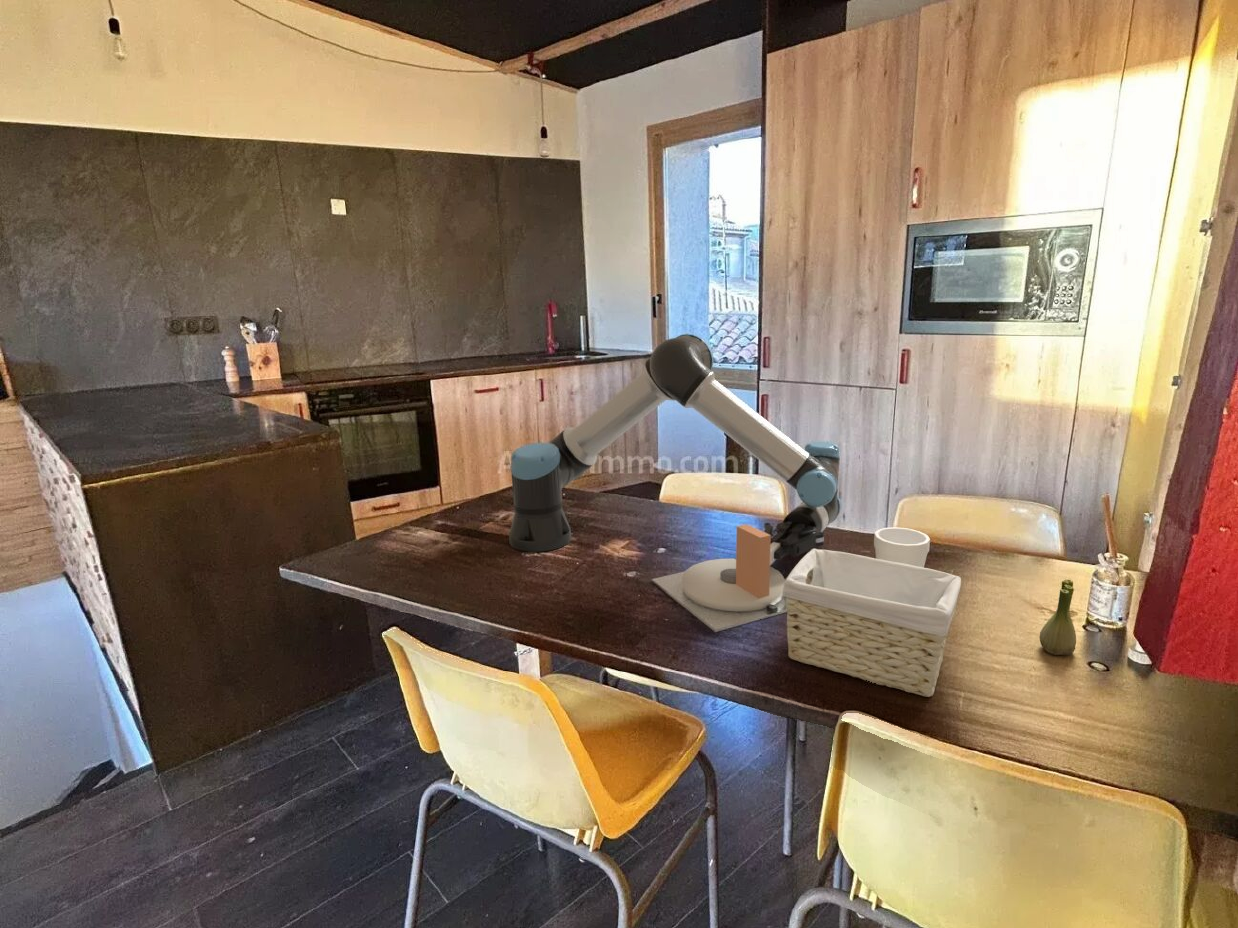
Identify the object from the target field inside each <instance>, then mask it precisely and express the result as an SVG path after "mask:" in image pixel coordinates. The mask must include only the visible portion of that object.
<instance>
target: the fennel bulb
mask: <svg viewBox="0 0 1238 928" xmlns="http://www.w3.org/2000/svg"><path fill="white" fill-rule="evenodd" d="M1074 591H1075V588H1074V581H1073V580H1071V579H1066V578H1065V579H1064V580H1062V581H1061V588H1060V590H1059V595H1058V597H1059V598H1058V604H1057V608H1056V609H1055V610H1056V611H1055V612H1054V614H1053V615H1052V616H1051V617H1049V619H1048V620H1047V622H1046V623H1044V625H1043V627H1042V628H1041V630H1040V632H1039V642H1040V645H1041V647H1042V649H1043V650H1044V651H1045V652H1047V653H1048V654H1051V655H1054V656H1069V655H1071V654H1073V653H1074V651H1076V645H1077V634H1076V633H1077V632H1076V630H1075V626H1074V623H1073V620H1072V616H1071V613H1070V611H1071V609H1070V608H1071V604H1072V599H1073V595H1074Z"/></svg>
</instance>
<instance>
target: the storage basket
mask: <svg viewBox="0 0 1238 928" xmlns="http://www.w3.org/2000/svg"><path fill="white" fill-rule="evenodd" d="M785 579H786V580H785V582H784V588H783V595H784V596H785V597H786V610H787V612H786V613H787V614H786V620H787V621H786V626H787V630H786V631H787V634H786V637H787V645H788V651H787V652H788V653H787V654H788V658H790V659H791V660H794V661H796V662H797V661H798V662H800V663H802V664H807V665H812V666H815V667H817V668H823V669H826V670H829V671H832V672H836V673H840V674H845V675H847V676H851V677H853V678H858V679H861V680H863V681H866V680H867V681H866V682H868V681H870V682H869V683H871V682H872V683H871V684H874V683H876V684H875V685H880V686H886V687H889V688H894V689H898V690H901V691H905V692H906V693H912V694H915V695H918V696H922V697H928V698H930V697H933V696H934V693H935V689H936V685H937V681H938V678H939V675H940V671H941V667H942V666H941V665H942V664H943V660H944V659H943V655H944V653H945V647H946V645H947V644H946V643H947V638H948V636H947V635H948V634H949V630H950V625H951V623H952V620H953V618H954V613H955V611H956V606H957V603H958V598H959V595H960V590H961V585H962V578H961V577H960V576H958V575H954V574H952V573H948V572H944V571H940V570H937V569H932V568H927V567H924V568H923V567H918V566H913V565H908V564H903V563H897V562H891V561H886V560H881V559H876V557H875V558H874V557H870V556H866V555H865V556H864V555H861V554H854V553H849V552H844V551H838V550H836V551H835V550H828V549H817V548H812V549H810V550H809V551H808V552H807V553H806V554H805V555H804V556H803V557H802V558H801V559H800V560H799V561H798V563H796V565H795V566H794V568H793V569H792V570H791V571H790V573H789V574H788V576H787V577H786V578H785Z"/></svg>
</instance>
